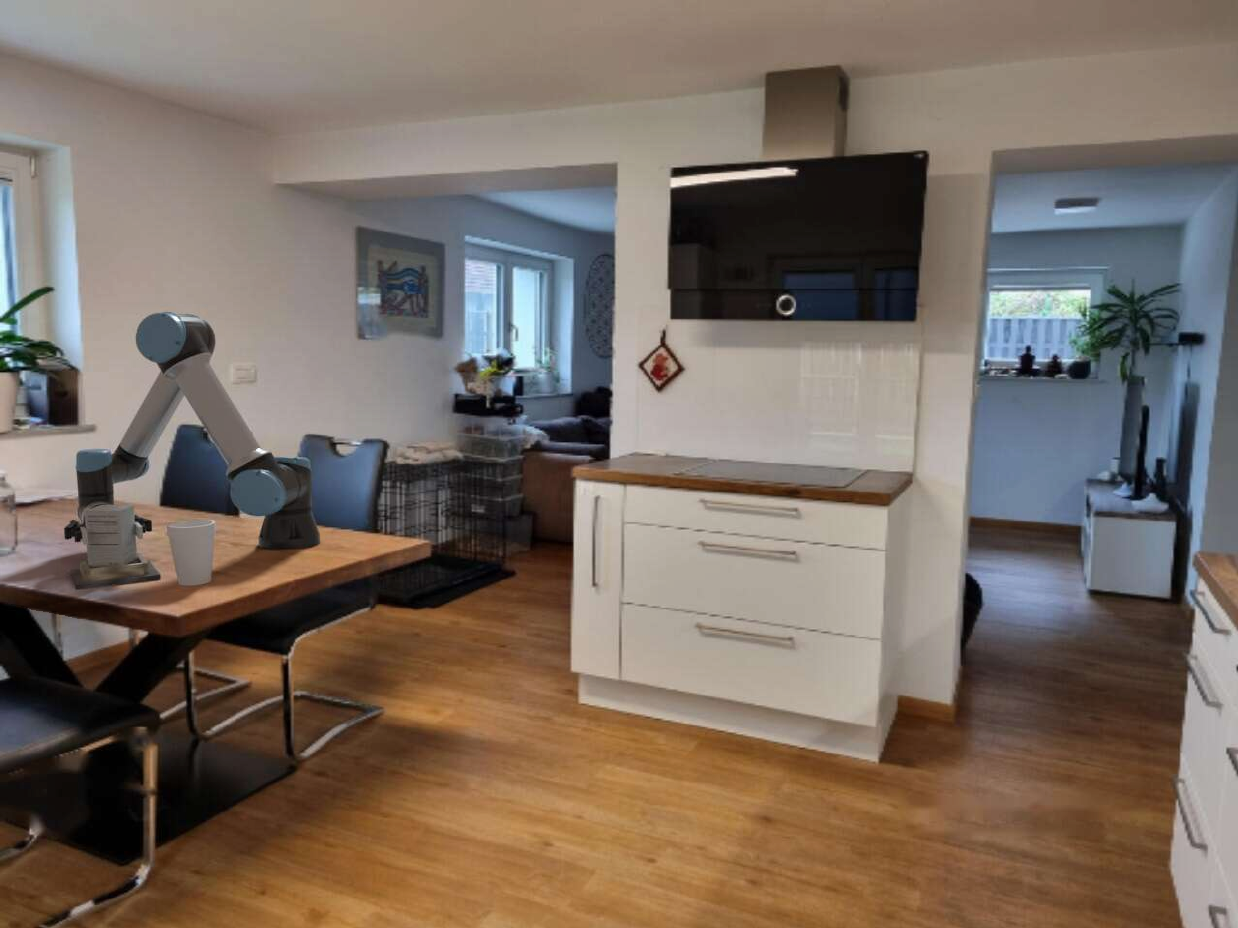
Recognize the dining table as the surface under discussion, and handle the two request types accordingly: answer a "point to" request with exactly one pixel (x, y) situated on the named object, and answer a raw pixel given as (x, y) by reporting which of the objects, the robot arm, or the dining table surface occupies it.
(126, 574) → the keeper cradle
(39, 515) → the dining table surface
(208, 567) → the foam cup
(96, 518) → the supplement box
